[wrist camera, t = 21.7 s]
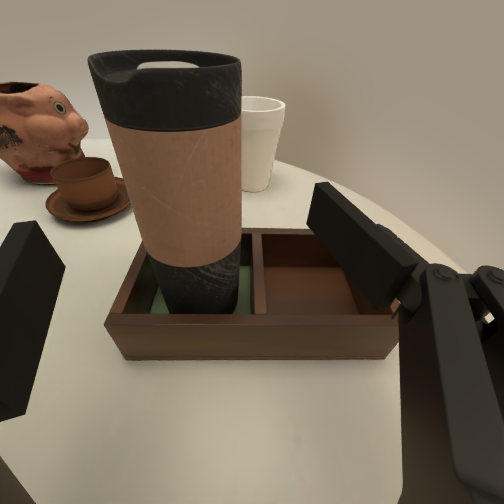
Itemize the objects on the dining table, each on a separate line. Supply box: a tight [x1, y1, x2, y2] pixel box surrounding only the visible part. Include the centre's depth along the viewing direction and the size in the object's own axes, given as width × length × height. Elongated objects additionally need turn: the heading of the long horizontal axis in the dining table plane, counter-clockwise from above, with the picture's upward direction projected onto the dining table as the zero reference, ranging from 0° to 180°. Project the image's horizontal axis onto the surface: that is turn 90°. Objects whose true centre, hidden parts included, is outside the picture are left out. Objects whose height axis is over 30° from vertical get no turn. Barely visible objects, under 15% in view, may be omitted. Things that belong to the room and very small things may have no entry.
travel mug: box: [88, 50, 242, 314], centre depth 20 cm, size 8×8×20 cm
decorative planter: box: [0, 82, 89, 184], centre depth 42 cm, size 20×12×14 cm, turn 97°
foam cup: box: [241, 96, 285, 192], centre depth 43 cm, size 10×9×13 cm
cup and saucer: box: [46, 157, 130, 221], centre depth 38 cm, size 12×12×6 cm
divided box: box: [104, 228, 400, 360], centre depth 25 cm, size 12×23×6 cm, turn 91°
